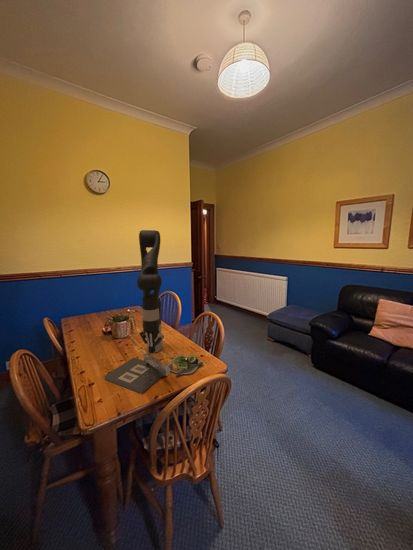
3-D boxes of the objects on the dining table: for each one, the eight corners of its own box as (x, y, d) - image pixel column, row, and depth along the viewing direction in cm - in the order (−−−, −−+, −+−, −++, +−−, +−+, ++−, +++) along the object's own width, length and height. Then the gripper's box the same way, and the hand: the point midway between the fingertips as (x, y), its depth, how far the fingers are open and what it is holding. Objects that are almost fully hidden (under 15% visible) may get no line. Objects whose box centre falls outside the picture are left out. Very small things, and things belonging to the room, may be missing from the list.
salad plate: (190, 382, 114) (190, 373, 113) (159, 373, 120) (159, 365, 120) (205, 363, 131) (205, 355, 130) (178, 356, 138) (178, 349, 137)
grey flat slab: (133, 360, 132) (133, 353, 132) (168, 371, 122) (167, 364, 121) (104, 379, 115) (104, 371, 114) (141, 394, 104) (141, 385, 103)
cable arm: (142, 359, 125) (142, 354, 124) (148, 357, 127) (148, 352, 127) (164, 376, 110) (164, 370, 109) (171, 373, 112) (170, 367, 112)
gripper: (167, 317, 105) (168, 352, 108) (145, 312, 111) (146, 346, 114) (157, 322, 99) (158, 360, 102) (133, 317, 105) (135, 353, 107)
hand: (152, 352), depth 108 cm, fingers closed
